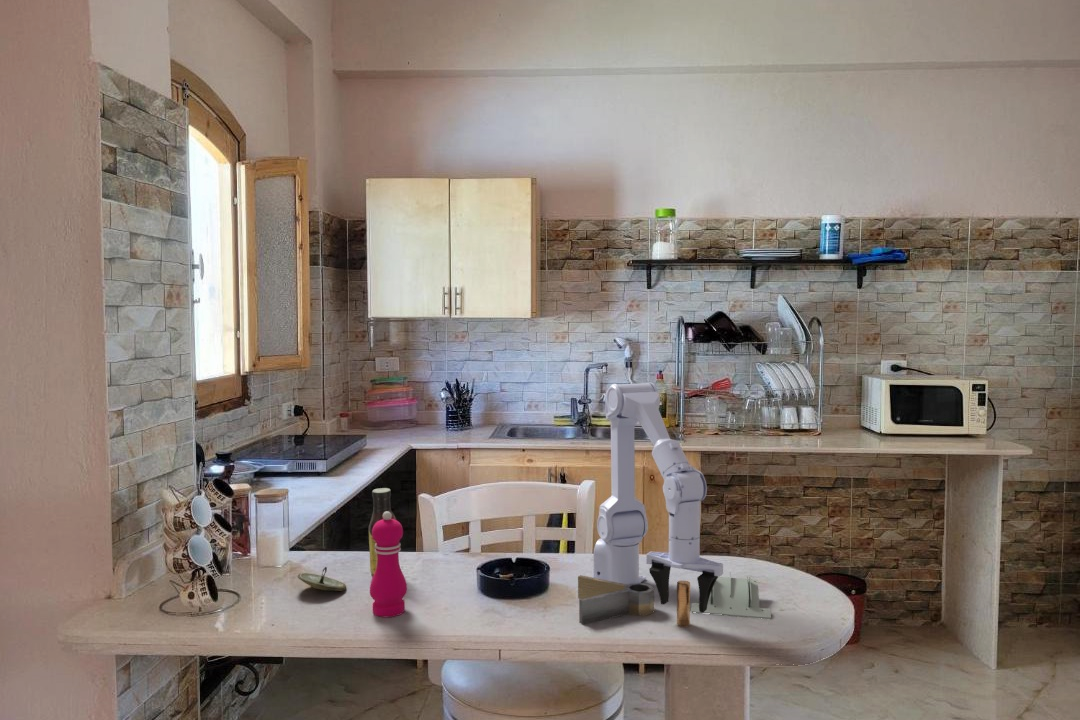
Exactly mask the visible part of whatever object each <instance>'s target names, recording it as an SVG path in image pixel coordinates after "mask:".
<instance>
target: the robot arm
mask: <svg viewBox="0 0 1080 720" xmlns="http://www.w3.org/2000/svg"><path fill="white" fill-rule="evenodd" d="M604 400H605V403H604V404H605V419H606V420H607V421H608V422H610V473H611V474H610V475H611V477H610V478H611V479H610V481H611V482H610V483H611V485H610V486H611V492H610V493H611V495H610V497H608V498H607V499H606V500H605V501H604V502H602V503H601V504H599V509H598V510H599V513H598V517H597V521H596V527H597V533H598V535H599V537H600V538H598V540H597V541H596V543H595V545H594V547H593V548H594V549H593V578H597V579H602V580H607V581H612V582H617V583H622V584H627V585H628V584H632V583H642V582H644V581H645V580H646V579H647V577H646V576H645V575H640V543H642V542H643V538H644V537H646V536H647V535H646V534H647V533H648V530H649V521H648V518H647V514H646V506H645V504H644V503H643V502H642V501H641V500H639V499H638V498H636V474H635V473H636V472H635V471H636V470H635V468H636V467H635V466H636V465H635V464H636V463H635V459H636V458H635V453H636V452H635V425H636V424H637V423H639V424H640V425H641V428H642V430H643V431H644V432H645V434H646V436H647V438H649V440H650V442H651V444H652V446H653V449H652V450H651V456H652V458H653V461H654V462H655V464H656V466H657V469H658V471H659V472H660V475H661V478H662V479H663V485H662V491H663V495H664V499H665V508H666V511H667V512H668V552H657V551H649V552H648V553H646V554H645V555H646V561H645V563H646V565H651V567H649V568H648V569H649V574H650V575H651V577H652V579H653V581H654V584H655V586H656V589H657V591H658V592H657V593H658V595H659V601H660V604H661V605H666V604H667V603H669V599H670V584H669V583H670V574H671V568H674V569H680V570H681V569H682V570H687V571H693V572H699V573H701V574H699V575H698V576H697V584H698V591H699V592H698V593H699V601H698V603H699V611H700V612H704V611H705V610H707V605H708V600H709V597H710V594H711V591H712V588H713V586H714V584H715V582H716V580H717V578H718V577H722V575H724V563H722V562H716V561H714V560H711V559H707V558H703V557H701V556H700V551H701V550H700V547H701V546H700V545H701V544H700V542H701V538H700V537H701V535H700V533H701V502H702V501H704V500H705V498H706V497H707V491H708V487H707V481H706V479H705V476H704V473H703V472H702V471H700V470H699V469H697V468H696V467H695V466H693V465H692V466H691V464H690V462H689V460H688V458H687V456H686V454H685V453H684V450H683V448H682V447H681V444H680V443H679V442H678V441H677V440H676V439H671V438H670V435H669V432H668V430H667V428H666V425H665V422H664V419H663V418H662V414H661V412H660V405H661V404H660V403H661V396H660V392H659V389H658V387H657V386H656V384H655V383H654V382H650V381H649V382H642V383H641V382H640V383H639V382H638V383H621V384H618V383H612V384H610V385H609V387H608V389H607V390H606V392H605V398H604Z"/></svg>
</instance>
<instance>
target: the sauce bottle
mask: <svg viewBox="0 0 1080 720" xmlns="http://www.w3.org/2000/svg"><path fill="white" fill-rule="evenodd" d="M391 496H392V491H391V489H390V488H388V487H382V488H381V487H380V488H375V489H373V490H372V491H371V497H372V499H373V500H372V504H373V505H372V506H373V508H372V510H373V511H372V514H371V517H370V520H369V525H368V544H369V546H368V549H369V564H370V565H369V567H370V568H369V569H370V577H371V578H372V579H373V576H374V574H375V571H376V567H377V553H376V552H375V544H376V542H375V541H374V540H373V538H372V529H373V526H374V525H375V523H377V522H378V521H380V520H382V519H383V513H384V512H386V511H388V512H390V513H391V514H392V517H391V519H394V520H397V518H396V516H395V514H394V512H393V511H392V506H391ZM399 558H400V557H399V554H398V559H399ZM399 560H400V559H399ZM372 579H371V580H372Z"/></svg>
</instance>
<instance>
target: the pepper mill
mask: <svg viewBox="0 0 1080 720" xmlns="http://www.w3.org/2000/svg"><path fill="white" fill-rule="evenodd" d="M391 517H392V514H391V513H390V512H388V511H386V512H384V513H383V519H382V520H380V521H378V522H377V523H375V525H374V526H373V529H372V538H373V540H374V541H375V542H376V544H375V552H376V553H377V567H376V571H375V574H374V576H373V579H371V582H370V585H369V595H370V597H371V599H373V600H374V601H373V602H372V614H373V615H374V616H377V617H381V618H392V617H397V616H399V615H401V614H403V613H404V612H405V610H406V607H405V606H406V604H405V603H406V602H405V599H403V598H404V597H406V596H405V595H407V592H408V584H407V581H406V578H405V576H404V574H403V571H402V569H401V566H400V562H399V560H400V559H398V555H399V554H400V553H399V552H401V550H402V548H401V542H400V541H401V540H402V538H403V534H404V528H403V526H402V523H400V521H398V520H397V519H396V520H394V519H391Z"/></svg>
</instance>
